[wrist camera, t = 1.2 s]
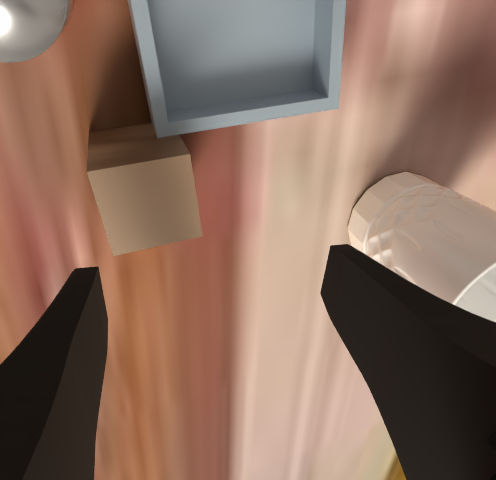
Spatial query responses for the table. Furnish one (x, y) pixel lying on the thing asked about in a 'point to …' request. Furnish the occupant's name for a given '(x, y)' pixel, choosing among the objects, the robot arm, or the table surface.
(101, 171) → the walnut block
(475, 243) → the white cup
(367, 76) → the table surface
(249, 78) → the parts tray
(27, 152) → the table surface
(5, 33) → the metal cylinder
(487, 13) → the table surface
